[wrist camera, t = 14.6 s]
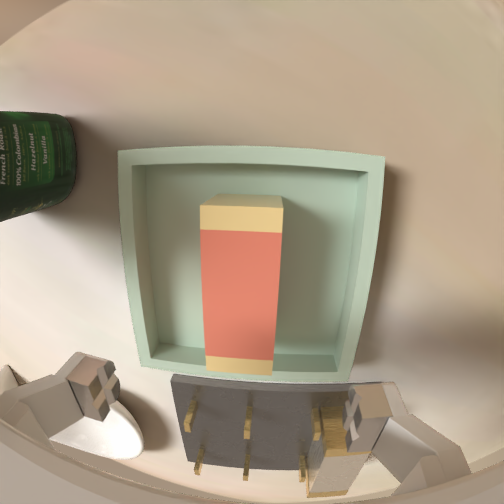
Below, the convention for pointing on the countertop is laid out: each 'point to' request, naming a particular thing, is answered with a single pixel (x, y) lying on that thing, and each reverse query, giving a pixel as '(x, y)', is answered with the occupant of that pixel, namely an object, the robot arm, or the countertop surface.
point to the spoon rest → (95, 429)
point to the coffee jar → (34, 162)
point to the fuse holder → (269, 429)
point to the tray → (292, 251)
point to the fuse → (240, 280)
